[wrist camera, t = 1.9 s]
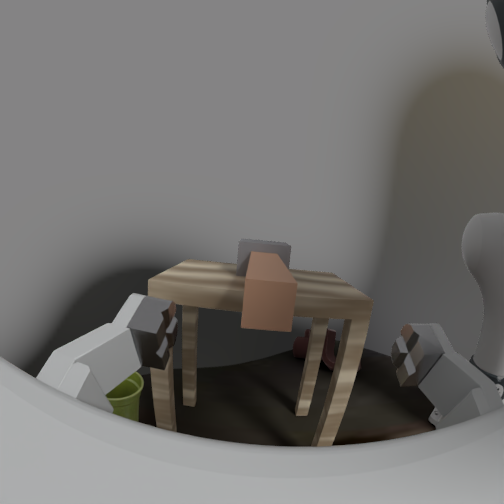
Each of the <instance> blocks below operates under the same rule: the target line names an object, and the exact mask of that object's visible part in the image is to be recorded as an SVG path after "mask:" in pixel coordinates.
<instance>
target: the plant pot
mask: <svg viewBox="0 0 504 504" xmlns="http://www.w3.org/2000/svg"><path fill="white" fill-rule="evenodd" d="M143 386H144V381H143V378H142V376H141V375H140V374H139V373H137V372H136V371H135V372H134V373H133V374H132V375H130V376H129V377H128V378H126V379H125V380H124V381H123V382H121V383H120V384H119V385H117V386H116V387H115V388H114V389H112V390H111V391H110V392H109V393H107V394H106V395H105V396H106V397H107V399H108V400H109V402H110V403H111V405H112V407H113V409H114V410H113V414H116V415H118V416H121V417H124V418H127V419H130V420H133V421H137V422H139V397H140V394H141V391H142V389H143Z"/></svg>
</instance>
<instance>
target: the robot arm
mask: <svg viewBox="0 0 504 504" xmlns="http://www.w3.org/2000/svg"><path fill="white" fill-rule="evenodd" d="M485 18H486V27H487V32H488V35H489V39H490V41H491V44H492V46H493V48H494V50H495V52H496V54H497V58H498V60H499V62H500V64H501V65H502V66H503V68H504V0H487V9H486V17H485ZM462 255H463V259H464V262H465V265H466V267H467V269H468V270H469V272H470V273H471V274H472V275H473V277H474V278H475V280H476V282H477V283H478V285H479V288H480V291H481V294H482V298H483V305H484V317H483V323H482V328H481V333H480V337H479V341H478V344H477V348H476V350H475V354H474V355H473V356H472V357H471V359H470V361H467V360H466V359H465V358H464V357H462V356H461V355H460V354H459V353H455V352H454V350H453V348H452V346H451V344H450V342H449V340H448V339H447V337H446V335H445V333H444V331H443V329H442V328H441V326H440V325H439V324H437V323H434V324H406V325H405V326H403V328H402V330H401V336H400V337H399V338H398V339H396V340H395V342H394V344H393V346H392V351H391V359H392V362H393V364H394V365H395V366H396V367H397V368H398V369H397V372H396V374H397V377H398V380H399V383H400V387H403V386H416V385H418V387H419V388H420V390H421V391H422V392H423V393H424V394H425V395H426V397H427V398H428V399H429V400H430V401H431V403H432V404H433V405H434V406H435V408H434V410H433V412H432V413H431V415H430V417H429V419H428V420H429V421H430V422H431V423H432V424H433V425H435V427H436V430H434V431H430V432H426V433H422V434H417V435H413V436H408V437H403V438H397V439H391V440H385V441H378V442H371V443H362V444H352V445H340V446H318V447H289V446H267V445H254V444H244V443H235V442H227V441H220V440H214V439H208V438H202V437H197V436H192V435H187V434H182V433H178V432H173V431H169V430H165V429H161V428H157V427H154V426H150V425H147V424H143V423H140V422H137V421H133V420H130V419H127V418H124V417H121V416H118V415H116V414H113V410H114V409H113V407H112V405H111V403H110V402H109V400H108V399H107V397H106V396H105V395H106V394H107V393H109V392H110V391H111V390H112V389H114V388H115V387H116V386H117V385H119V384H120V383H121V382H123V381H124V380H125V379H126V378H128V377H129V376H130V375H132V374H133V373H134V372H135V371H137V370H138V369H139V368H140V367H141V365H142V366H146V367H151V368H155V369H160V370H165V368H166V365H167V363H168V360H169V357H170V352H169V349H170V348H171V347H173V346H174V344H175V341H176V336H177V331H178V325H177V324H178V323H177V319H176V318H175V317H174V314H175V312H176V306H175V302H174V301H170V300H165V299H160V298H155V297H150V296H144V295H139V294H135V293H133V294H131V295H130V296H129V298H128V299H127V301H126V302H125V304H124V305H123V307H122V308H121V310H120V311H119V313H118V314H117V316H116V318H115V319H114V321H113V322H112V324H110V323H107V324H105V325H103V326H101V327H99V328H97V329H95V330H93V331H92V332H89V333H88V334H86V335H84V336H82V337H80V338H78V339H76V340H74V341H72V342H70V343H68V344H66V345H64V346H62V347H60V348H58V349H56V350H55V351H54V352H53V353H52V354H51V356H50V358H49V359H48V361H47V362H46V364H45V365H44V367H43V368H42V370H41V371H40V373H39V375H38V376H37V378H34V377H32V376H31V375H29V374H27V373H26V372H24V371H22V370H21V369H19V368H17V367H16V366H14V365H13V364H11V363H9V362H8V361H7V360H5V359H3V358H2V357H1V356H0V504H504V214H502V213H484V214H476V215H475V216H474V217H472V219H471V220H470V221H469V222H468V224H467V226H466V228H465V230H464V233H463V238H462Z"/></svg>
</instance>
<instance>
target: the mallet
mask: <svg viewBox="0 0 504 504" xmlns="http://www.w3.org/2000/svg"><path fill="white" fill-rule="evenodd" d="M290 252H291V246H290V245H288V244H287V243H281V242H272V241H262V240H251V239H241V240H240V241H239V248H238V260H237V270H236V276H245V277H246V278H245V287H244V298H243V309H242V320H241V328H250V329H262V330H273V331H288V332H291V328H292V321H293V314H294V307H295V300H296V292H297V285H298V283H297V282H296V280H295V279H294V277H293V276H292V274H291V273H290V271H289V262H290Z"/></svg>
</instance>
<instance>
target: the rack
mask: <svg viewBox="0 0 504 504" xmlns="http://www.w3.org/2000/svg"><path fill="white" fill-rule="evenodd" d="M236 270H237V264H231V263H221V262H211V261H201V260H191V259H188V260H186V261H184V262H182V263H180V264H178V265H176V266H174V267H172V268H170V269H168V270H166V271H164V272H163V273H160V274H159V275H157V276H155V277H153V278H151V279H149V280H148V296H150V297H155V298H160V299H165V300H170V301H174V302H175V304H180V305H183V322H182V378H183V405H186V406H192V407H194V406H195V403H196V371H197V328H198V327H197V326H198V307H204V308H211V309H220V310H229V311H238V312H242V309H243V298H244V287H245V278H246V277H245V276H236ZM289 271H290V273H291V274H292V276H293V277H294V279H295V280H296V282H297V283H298V285H297V292H296V300H295V307H294V314H293V316H298V317H313V320H312V326H311V332H310V338H309V344H308V349H307V354H306V360H305V365H304V370H303V374H302V379H301V384H300V389H299V393H298V398H297V402H296V406H295V413H296V416H307V414H308V410H309V406H310V403H311V399H312V395H313V391H314V387H315V382H316V378H317V374H318V370H319V365H320V361H321V356H322V351H323V346H324V341H325V336H326V331H327V326H328V320H329V318H333V319H345V321H344V326H343V331H342V336H341V340H340V345H339V349H338V354H337V358H336V362H335V367H334V371H333V375H332V378H331V382H330V386H329V390H328V393H327V397H326V400H325V404H324V407H323V411H322V414H321V417H320V421H319V424H318V427H317V430H316V433H315V436H314V439H313V442H312V445H311V447H318V446H332V443H333V441H334V438H335V436H336V433H337V431H338V428H339V425H340V423H341V420H342V417H343V414H344V411H345V408H346V405H347V402H348V399H349V396H350V393H351V390H352V387H353V384H354V380H355V377H356V373H357V370H358V366H359V363H360V359H361V355H362V351H363V347H364V342H365V339H366V335H367V330H368V326H369V320H370V316H371V311H372V306H373V300H372V299H371V298H369V297H367V296H366V295H365V294H363V293H362V292H360V291H359V290H357V289H355V288H354V287H353V286H351V285H350V284H348V283H347V282H345V281H344V280H342V279H341V278H339V277H337V276H336V275H335V274H333V273H329V272H317V271H306V270H295V269H289ZM169 352H170V357H169V360H168V363H167V365H166V368H165V370H160V369H155V368H151V367H150V369H151V381H152V392H153V401H154V410H155V418H156V425H157V428H161V429H165V430H169V431H173V432H177V429H176V416H175V401H174V382H173V347H171V348H170V349H169Z"/></svg>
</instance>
